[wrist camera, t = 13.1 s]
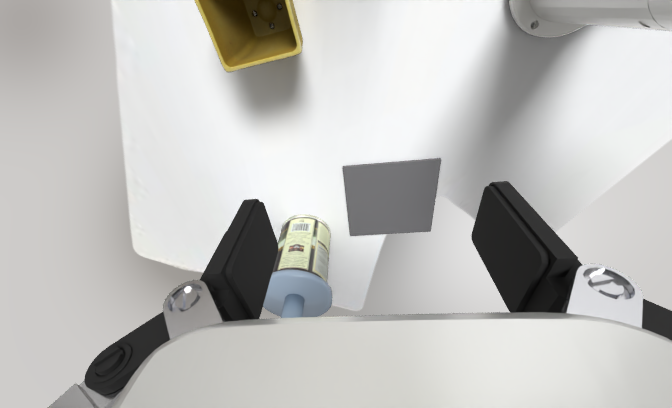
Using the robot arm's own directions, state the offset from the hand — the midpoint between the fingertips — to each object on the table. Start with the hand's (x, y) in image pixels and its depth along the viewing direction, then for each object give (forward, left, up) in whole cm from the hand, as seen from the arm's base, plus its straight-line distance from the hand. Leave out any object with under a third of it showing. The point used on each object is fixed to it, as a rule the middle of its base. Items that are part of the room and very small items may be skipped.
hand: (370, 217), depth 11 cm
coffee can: (+12, +29, -31) cm, 44 cm away
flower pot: (+10, -8, -31) cm, 33 cm away
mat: (-5, +22, -30) cm, 38 cm away
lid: (+12, +29, -16) cm, 35 cm away
